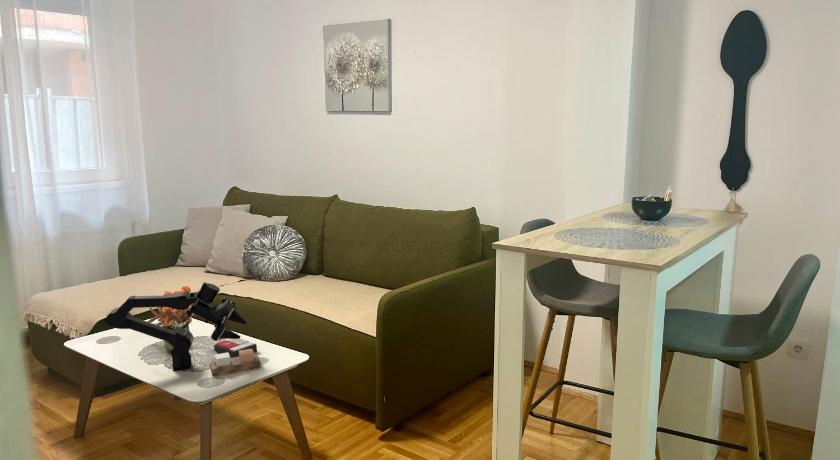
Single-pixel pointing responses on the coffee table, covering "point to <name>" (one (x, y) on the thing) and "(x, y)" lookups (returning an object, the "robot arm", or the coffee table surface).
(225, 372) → the key panel
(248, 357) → the tan wooden block
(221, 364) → the cream key
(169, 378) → the coffee table surface
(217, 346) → the calculator
